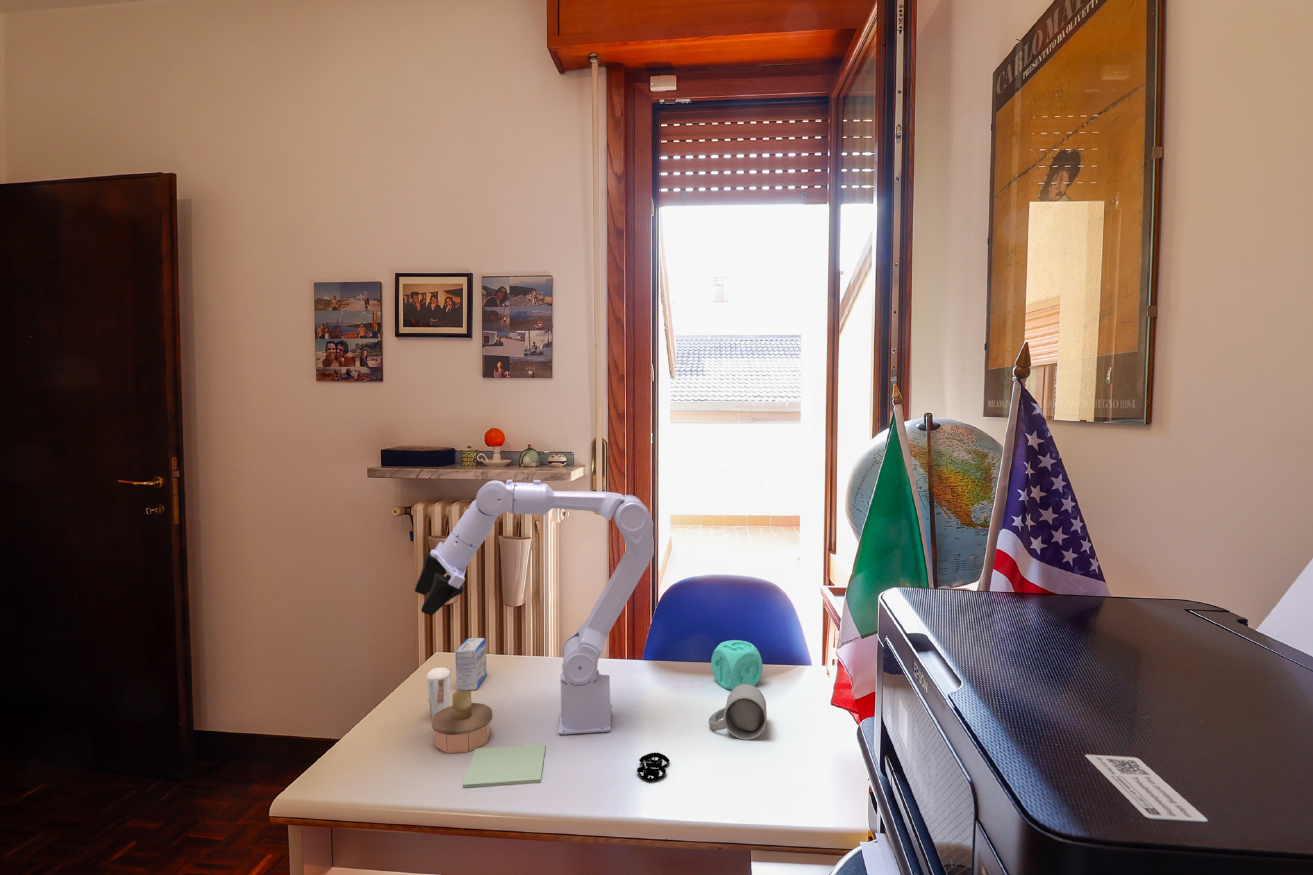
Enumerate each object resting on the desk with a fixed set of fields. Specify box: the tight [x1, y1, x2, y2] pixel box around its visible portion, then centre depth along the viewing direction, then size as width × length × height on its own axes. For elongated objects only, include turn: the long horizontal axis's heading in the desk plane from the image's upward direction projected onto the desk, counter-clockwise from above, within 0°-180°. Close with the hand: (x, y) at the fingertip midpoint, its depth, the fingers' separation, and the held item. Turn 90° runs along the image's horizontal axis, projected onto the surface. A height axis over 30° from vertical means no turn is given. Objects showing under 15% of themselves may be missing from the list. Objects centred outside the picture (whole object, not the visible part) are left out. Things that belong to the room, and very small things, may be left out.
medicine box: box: [454, 637, 488, 691], centre depth 140 cm, size 8×4×9 cm, turn 179°
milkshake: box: [425, 665, 454, 718], centre depth 125 cm, size 4×5×10 cm
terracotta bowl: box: [434, 721, 491, 754], centre depth 115 cm, size 9×9×4 cm
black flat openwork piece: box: [636, 752, 670, 783], centre depth 105 cm, size 5×8×1 cm, turn 172°
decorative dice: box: [710, 639, 764, 691], centre depth 138 cm, size 8×8×8 cm
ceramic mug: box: [708, 684, 768, 741], centre depth 118 cm, size 11×8×8 cm
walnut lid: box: [431, 690, 493, 735], centre depth 115 cm, size 10×10×5 cm
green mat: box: [462, 743, 547, 789], centre depth 106 cm, size 12×11×1 cm
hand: (423, 602), depth 116 cm, fingers open, 7 cm apart
